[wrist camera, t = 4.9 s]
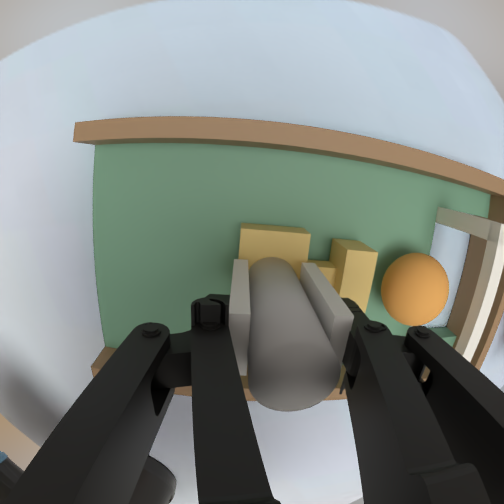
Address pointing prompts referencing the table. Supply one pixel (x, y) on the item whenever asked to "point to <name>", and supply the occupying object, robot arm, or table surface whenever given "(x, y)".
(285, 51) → the table surface
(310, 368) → the kicker
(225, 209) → the pitch
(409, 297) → the ball
